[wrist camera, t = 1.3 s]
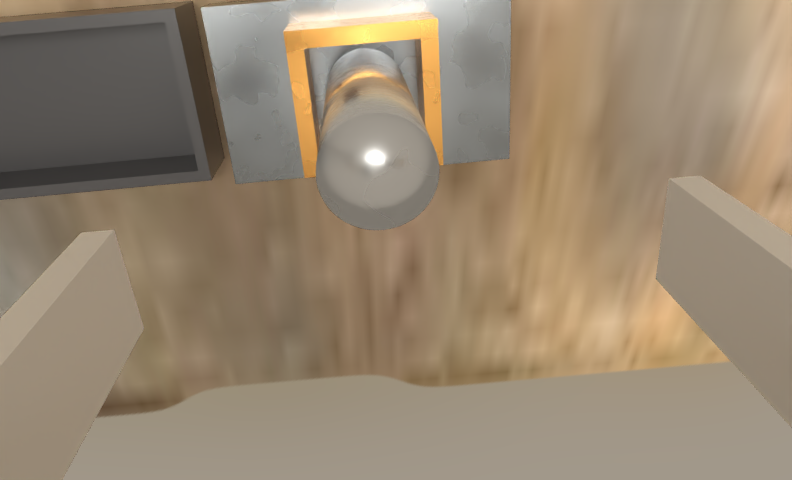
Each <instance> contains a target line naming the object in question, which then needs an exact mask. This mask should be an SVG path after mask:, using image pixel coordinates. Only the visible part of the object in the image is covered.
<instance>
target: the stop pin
mask: <svg viewBox="0 0 792 480" xmlns="http://www.w3.org/2000/svg"><path fill="white" fill-rule="evenodd" d="M438 180H439V161H438V157H437V153H436V151H435V148H434V146H433V143H432V141H431V139H430V136H429V134H428V132H427V130H426V127H425V125H424V123H423V120H422V118H421V116H420V113H419V111H418V109H417V107H416V104H415V102H414V100H413V97H412V95H411V93H410V90H409V88H408V86H407V83H406V81H405V79H404V77H403V74H402V72H401V70H400V68H399V66H398V65H397V63H396V62H395V61H394V60H393V59H392V58H391V57H390V56H388V55H387V54H385V53H383V52H381V51H379V50H376V49H370V48H361V49H356V50H352V51H350V52H348V53H346V54H344V55H343V56H342V57H340V58H339V59H338V60H337V61H336V63H335V64H334V65H333V67H332V69H331V71H330V73H329V76H328V80H327V87H326V95H325V102H324V110H323V117H322V125H321V132H320V140H319V147H318V155H317V162H316V181H317V186H318V190H319V192H320V195H321V197H322V199H323V201H324V202H325V204H326V205H327V207H328V208H329V209H330V210H331V211H332V212H333V213H334V214H335V215H336V216H337V217H339V218H340V219H341V220H343V221H345V222H346V223H348V224H350V225H353V226H355V227H358V228H362V229H367V230H386V229H391V228H395V227H398V226H401V225H403V224H405V223H407V222H409V221H411V220H412V219H414V218H415V217H417V216H418V215H419V214H420V213H421V212H422V211H423V210H424V209H425V208H426V207H427V205H428V204H429V203H430V201H431V199H432V198H433V196H434V193H435V191H436V188H437V185H438Z"/></svg>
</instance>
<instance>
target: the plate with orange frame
mask: <svg viewBox="0 0 792 480" xmlns="http://www.w3.org/2000/svg"><path fill="white" fill-rule="evenodd" d="M201 12H202V17H203V22H204V27H205V32H206V37H207V42H208V47H209V52H210V57H211V62H212V67H213V72H214V77H215V82H216V87H217V92H218V97H219V102H220V107H221V112H222V117H223V122H224V127H225V132H226V137H227V142H228V147H229V152H230V157H231V162H232V167H233V172H234V177H235V182H236V184H241V183H252V182H263V181H274V180H284V179H295V178H308V177H316V162H317V155H318V147H319V140H320V132H321V125H322V117H323V110H324V102H325V95H326V87H327V80H328V76H329V73H330V71H331V69H332V67H333V65H334V64H335V63H336V61H337V60H338V59H339V58H340V57H342V56H343V55H344V54H346V53H348V52H350V51H352V50H356V49H361V48H370V49H376V50H379V51H381V52H383V53H385V54H387V55H388V56H390V57H391V58H392V59H393V60H394V61H395V62H396V63H397V65H398V66H399V68H400V70H401V72H402V74H403V77H404V79H405V81H406V83H407V86H408V88H409V90H410V93H411V95H412V97H413V100H414V102H415V104H416V107H417V109H418V111H419V113H420V116H421V118H422V120H423V123H424V125H425V127H426V130H427V132H428V134H429V136H430V139H431V141H432V143H433V146H434V148H435V151H436V153H437V157H438V161H439V165H445V164H456V163H467V162H478V161H488V160H499V159H509V143H510V47H511V0H250V1H238V2H226V3H214V4H208V5H205V6H203V7H201Z"/></svg>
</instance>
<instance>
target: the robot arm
mask: <svg viewBox="0 0 792 480" xmlns="http://www.w3.org/2000/svg"><path fill="white" fill-rule="evenodd" d="M656 280H657V281H658V282H659V283H660V284H661V285H662V286H663V287H664V288H665V290H666V291H667V292H668V293H669V294H670V295H671V296H672V297H673V298H674V299H675V300H676V302H677V303H678V304H679V305H680V306H681V307H682V308H683V309H684V310H685V311H686V313H687V314H688V315H689V316H690V317H691V318H692V319H693V320H694V321H695V322H696V324H697V325H698V326H699V327H700V328H701V329H702V330H703V331H704V332H705V333H706V334H707V336H708V337H709V338H710V339H711V340H712V341H713V342H714V343H715V344H716V345H717V347H718V348H719V349H720V350H721V351H722V352H723V353H724V354H725V355H726V356H727V357H728V359H729V360H730V361H731V362H732V363H733V364H734V365H735V366H736V367H737V368H738V369H739V371H740V372H741V373H742V374H743V375H744V376H745V377H746V378H747V379H748V381H750V382H751V384H752V385H753V386H754V387H755V388H756V389H757V390H758V391H759V392H760V393H761V395H762V396H763V397H764V398H765V399H766V400H767V401H768V402H769V403H770V405H771V406H772V407H773V408H774V409H775V410H776V411H777V412H778V413H779V414H780V416H781V417H782V418H783V419H784V420H785V421H786V422H787V423H788V424H789V425H790V426H791V428H792V236H791V235H790V234H788V233H787V232H785V231H784V230H782V229H781V228H779V227H778V226H776V225H775V224H773V223H772V222H770V221H769V220H767V219H765V218H764V217H762V216H761V215H759V214H758V213H756V212H755V211H753V210H752V209H750V208H749V207H747V206H746V205H744V204H743V203H741V202H740V201H738V200H737V199H735V198H734V197H732V196H731V195H729V194H728V193H726V192H725V191H723V190H722V189H720V188H719V187H717V186H715V185H714V184H712V183H711V182H709V181H708V180H706V179H705V178H703V177H702V176H690V177H679V178H669V182H668V189H667V197H666V205H665V212H664V220H663V228H662V235H661V243H660V250H659V258H658V266H657V273H656ZM143 329H144V326H143V323H142V320H141V316H140V313H139V310H138V306H137V303H136V300H135V296H134V293H133V290H132V286H131V283H130V280H129V277H128V273H127V270H126V267H125V263H124V260H123V257H122V253H121V250H120V247H119V243H118V240H117V237H116V233H115V230H104V231H93V232H82V233H80V234H79V235H78V236H77V237H76V239H75V240H74V241H73V242H72V243H71V244H70V245H69V246H68V247H67V248H66V249H65V250H64V251H63V252H62V253H61V254H60V256H59V257H58V258H57V259H56V260H55V261H54V262H53V263H52V264H51V265H50V266H49V267H48V268H47V269H46V270H45V271H44V273H43V274H42V275H41V276H40V277H39V278H38V279H37V280H36V281H35V282H34V283H33V284H32V285H31V286H30V287H29V288H28V290H27V291H26V292H25V293H24V294H23V295H22V296H21V297H20V298H19V299H18V300H17V301H16V302H15V303H14V304H13V306H12V307H11V308H10V309H9V310H8V311H7V312H6V313H5V314H4V315H3V316H2V317H1V318H0V480H62V479H63V477H64V476H65V474H66V472H67V470H68V468H69V466H70V464H71V463H72V461H73V459H74V457H75V455H76V453H77V452H78V450H79V448H80V446H81V444H82V442H83V440H84V439H85V437H86V435H87V433H88V431H89V429H90V428H91V426H92V424H93V422H94V420H95V418H96V416H97V415H98V413H99V411H100V409H101V407H102V405H103V403H104V402H105V400H106V398H107V396H108V394H109V392H110V391H111V389H112V387H113V385H114V383H115V381H116V379H117V378H118V376H119V374H120V372H121V370H122V368H123V366H124V365H125V363H126V361H127V359H128V357H129V355H130V354H131V352H132V350H133V348H134V346H135V344H136V342H137V341H138V339H139V337H140V335H141V333H142V331H143Z"/></svg>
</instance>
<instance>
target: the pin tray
mask: <svg viewBox="0 0 792 480" xmlns="http://www.w3.org/2000/svg"><path fill="white" fill-rule="evenodd" d="M223 159H224V153H223V148H222V143H221V139H220V134H219V129H218V124H217V119H216V114H215V109H214V104H213V99H212V94H211V90H210V85H209V80H208V75H207V70H206V65H205V60H204V55H203V50H202V45H201V41H200V36H199V31H198V26H197V21H196V16H195V11H194V6H193V1H190V2H178V3H166V4H154V5H142V6H130V7H118V8H105V9H93V10H81V11H69V12H57V13H45V14H33V15H20V16H8V17H0V200H4V199H14V198H25V197H36V196H47V195H57V194H68V193H79V192H90V191H101V190H111V189H122V188H133V187H144V186H154V185H165V184H176V183H187V182H198V181H208V180H212V179H213V177H214V175H215V173H216V172H217V170H218V168H219V166H220V164H221V163H222V161H223Z"/></svg>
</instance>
